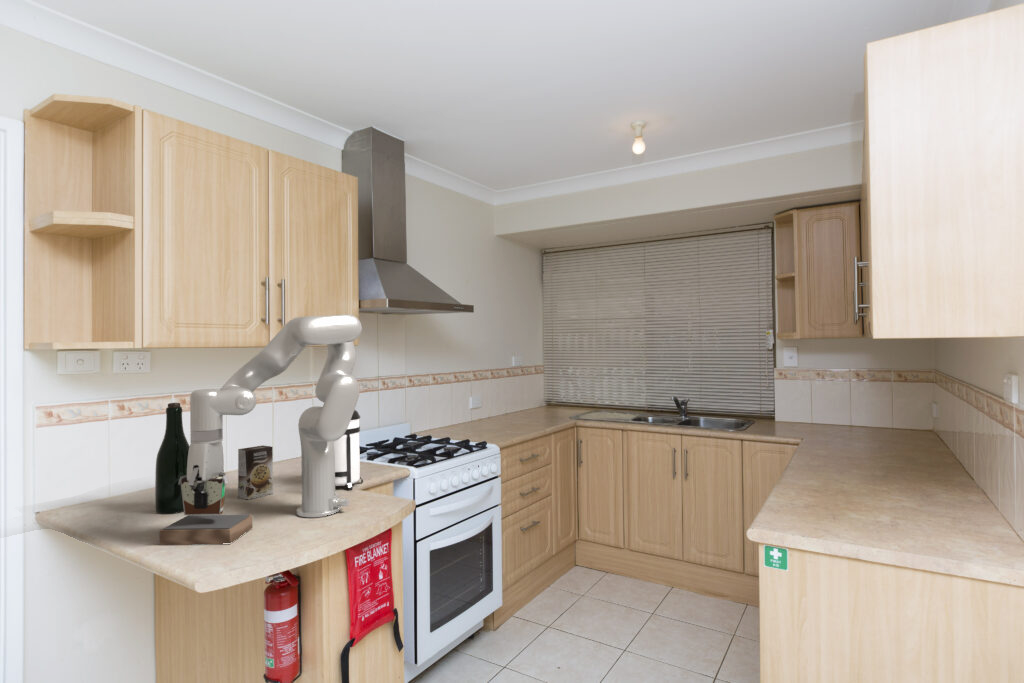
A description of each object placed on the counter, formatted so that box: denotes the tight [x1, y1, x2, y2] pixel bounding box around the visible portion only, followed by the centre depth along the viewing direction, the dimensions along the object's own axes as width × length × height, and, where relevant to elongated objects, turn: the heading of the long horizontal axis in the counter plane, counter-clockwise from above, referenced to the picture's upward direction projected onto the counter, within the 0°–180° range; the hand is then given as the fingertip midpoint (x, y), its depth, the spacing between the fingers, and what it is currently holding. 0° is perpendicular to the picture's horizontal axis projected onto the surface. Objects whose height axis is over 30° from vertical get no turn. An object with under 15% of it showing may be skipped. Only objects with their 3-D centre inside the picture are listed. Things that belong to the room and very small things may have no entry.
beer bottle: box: [154, 402, 190, 514], centre depth 173 cm, size 10×10×33 cm
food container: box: [178, 472, 229, 516], centre depth 148 cm, size 12×6×10 cm, turn 89°
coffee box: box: [237, 444, 274, 500], centre depth 188 cm, size 9×6×16 cm
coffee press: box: [333, 409, 364, 491], centre depth 197 cm, size 17×16×30 cm
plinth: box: [158, 514, 253, 546], centre depth 148 cm, size 18×12×4 cm, turn 89°
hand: (207, 504), depth 148 cm, fingers closed on food container, 5 cm apart
